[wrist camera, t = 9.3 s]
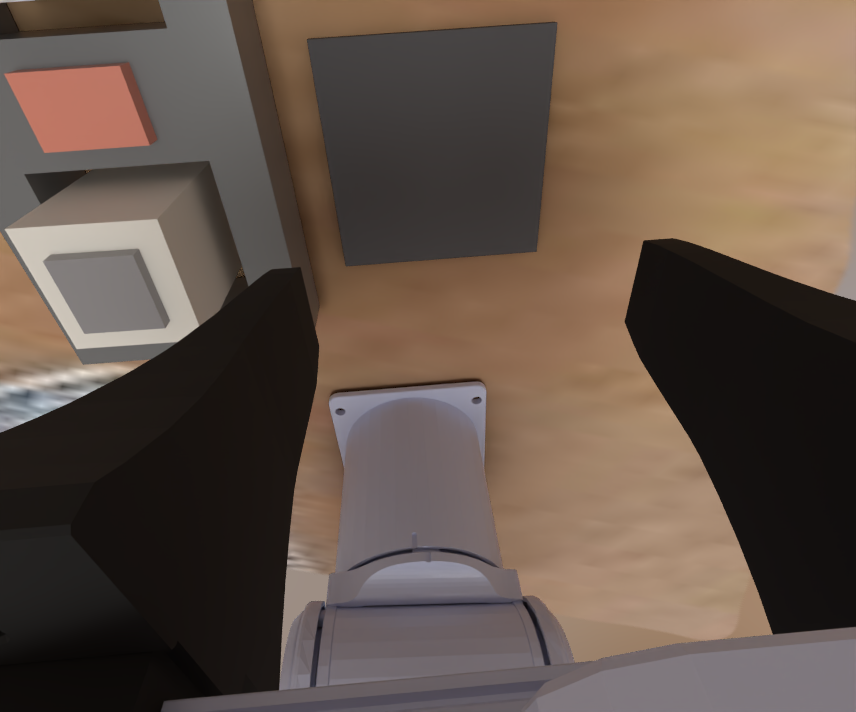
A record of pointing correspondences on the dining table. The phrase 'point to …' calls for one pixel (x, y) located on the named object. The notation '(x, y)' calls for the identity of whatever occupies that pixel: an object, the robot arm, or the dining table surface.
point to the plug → (131, 253)
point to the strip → (152, 126)
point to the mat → (436, 139)
